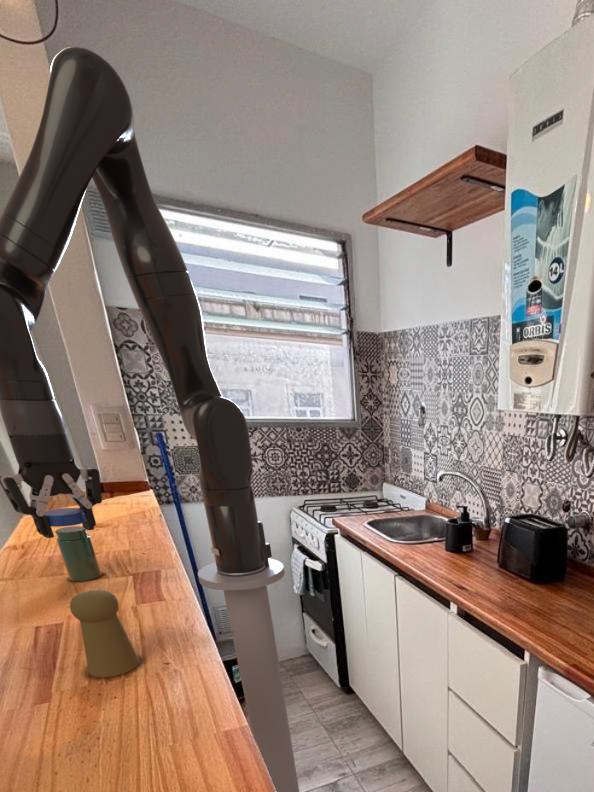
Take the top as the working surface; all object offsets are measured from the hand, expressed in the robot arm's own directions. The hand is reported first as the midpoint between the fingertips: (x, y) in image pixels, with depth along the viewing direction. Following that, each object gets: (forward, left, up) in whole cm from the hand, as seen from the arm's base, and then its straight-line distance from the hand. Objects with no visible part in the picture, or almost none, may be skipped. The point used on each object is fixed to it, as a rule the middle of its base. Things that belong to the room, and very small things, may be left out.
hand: (69, 532), depth 90 cm
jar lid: (0, 0, +3) cm, 3 cm away
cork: (+13, +31, -11) cm, 35 cm away
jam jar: (-4, -9, -11) cm, 15 cm away
